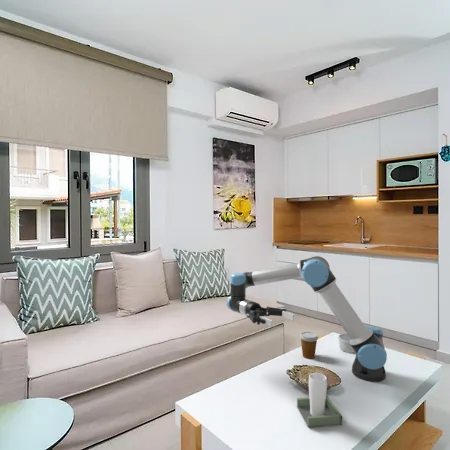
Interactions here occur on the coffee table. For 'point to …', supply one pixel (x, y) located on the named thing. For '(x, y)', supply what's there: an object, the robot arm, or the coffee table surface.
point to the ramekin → (345, 343)
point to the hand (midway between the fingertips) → (282, 320)
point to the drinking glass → (317, 393)
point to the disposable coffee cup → (308, 344)
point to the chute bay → (329, 419)
